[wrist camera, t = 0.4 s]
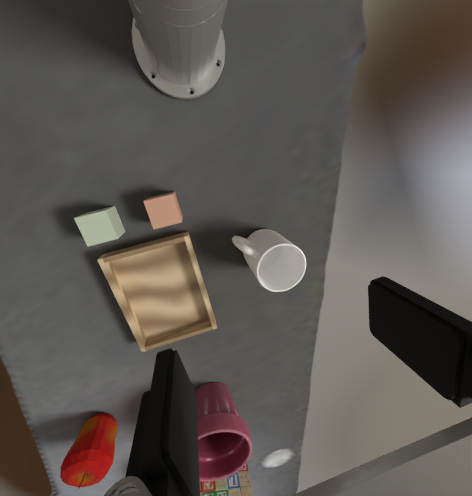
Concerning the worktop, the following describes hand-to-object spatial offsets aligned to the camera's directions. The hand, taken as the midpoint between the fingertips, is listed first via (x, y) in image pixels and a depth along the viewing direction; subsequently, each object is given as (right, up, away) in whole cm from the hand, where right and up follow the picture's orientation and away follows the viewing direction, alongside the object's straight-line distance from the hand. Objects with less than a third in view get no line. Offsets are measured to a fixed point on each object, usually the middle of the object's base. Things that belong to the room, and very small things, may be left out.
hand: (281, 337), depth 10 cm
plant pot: (-8, -32, +45) cm, 55 cm away
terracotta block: (-14, +11, +29) cm, 34 cm away
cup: (+2, +5, +34) cm, 35 cm away
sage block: (-24, +8, +27) cm, 37 cm away
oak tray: (-16, -4, +33) cm, 37 cm away
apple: (-32, -35, +41) cm, 62 cm away
